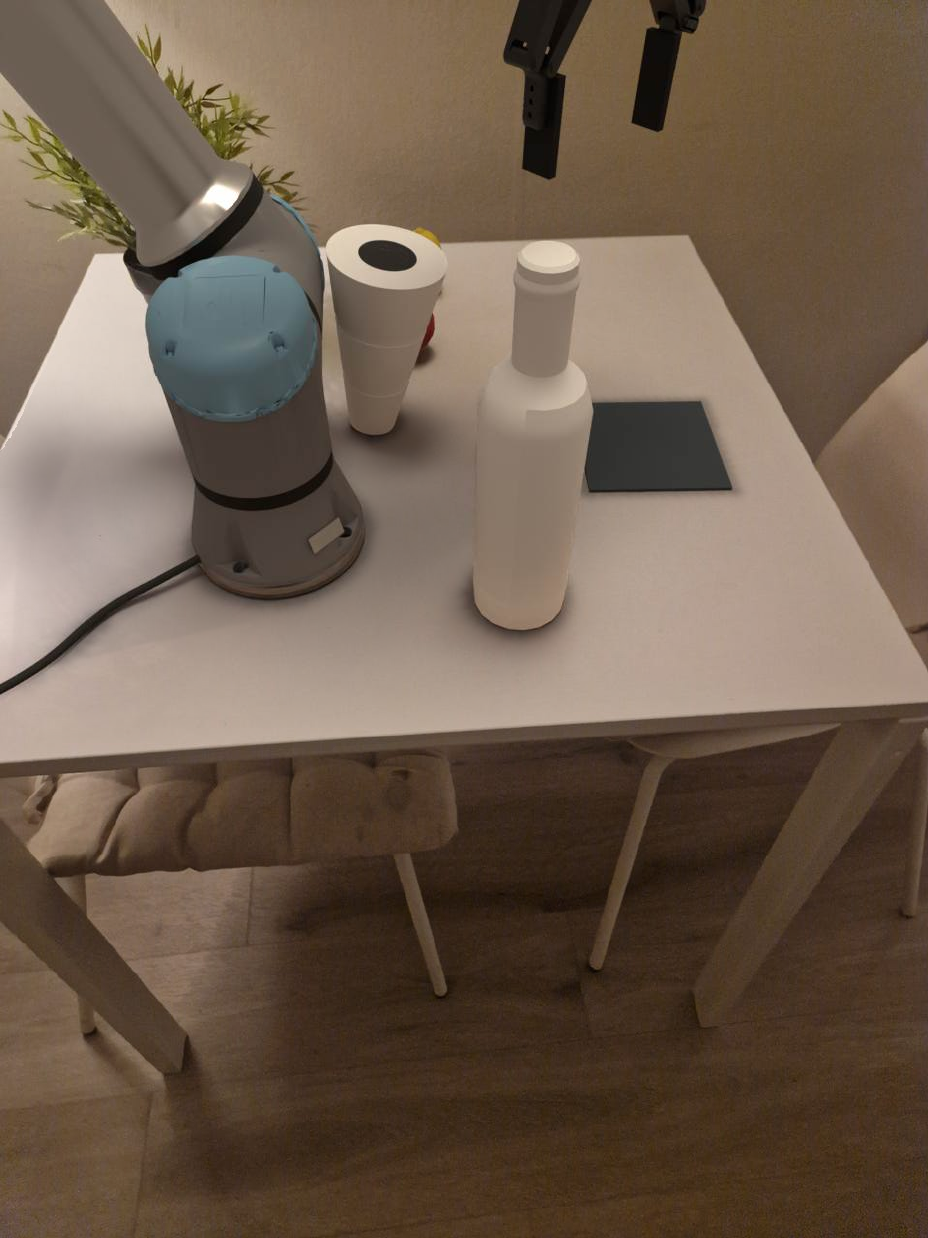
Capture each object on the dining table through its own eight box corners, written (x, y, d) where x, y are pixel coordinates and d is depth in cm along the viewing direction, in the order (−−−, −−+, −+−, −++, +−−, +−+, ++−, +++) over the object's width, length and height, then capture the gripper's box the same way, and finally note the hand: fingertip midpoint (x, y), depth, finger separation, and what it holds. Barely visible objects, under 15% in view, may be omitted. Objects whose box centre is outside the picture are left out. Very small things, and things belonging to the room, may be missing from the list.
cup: (332, 379, 86) (340, 213, 72) (428, 399, 87) (454, 239, 73) (310, 441, 80) (313, 272, 66) (414, 463, 80) (439, 300, 66)
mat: (589, 492, 77) (589, 489, 77) (572, 404, 86) (572, 402, 86) (731, 489, 77) (732, 487, 77) (700, 403, 86) (701, 400, 86)
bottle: (565, 566, 71) (617, 225, 48) (563, 635, 66) (621, 292, 43) (476, 559, 71) (484, 218, 48) (468, 628, 66) (473, 284, 43)
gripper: (560, -235, 39) (525, 212, 55) (814, -254, 50) (723, 121, 67) (451, -247, 42) (449, 178, 58) (714, -262, 53) (650, 97, 70)
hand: (595, 149), depth 63 cm, fingers open, 13 cm apart
